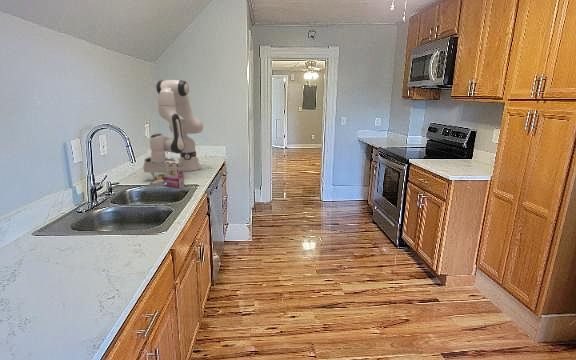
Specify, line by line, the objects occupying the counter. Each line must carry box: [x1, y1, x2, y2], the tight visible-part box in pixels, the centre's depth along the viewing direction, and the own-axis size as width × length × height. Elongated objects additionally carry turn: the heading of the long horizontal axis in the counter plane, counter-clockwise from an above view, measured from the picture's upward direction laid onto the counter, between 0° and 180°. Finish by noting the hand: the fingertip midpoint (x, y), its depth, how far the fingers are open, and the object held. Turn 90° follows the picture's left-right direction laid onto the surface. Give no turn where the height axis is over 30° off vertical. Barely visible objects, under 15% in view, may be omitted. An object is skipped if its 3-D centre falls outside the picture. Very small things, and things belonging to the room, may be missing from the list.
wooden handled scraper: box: [151, 173, 166, 184], centre depth 223 cm, size 17×6×3 cm, turn 8°
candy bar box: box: [164, 160, 186, 189], centre depth 209 cm, size 11×5×16 cm, turn 62°
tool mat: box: [147, 176, 167, 187], centre depth 222 cm, size 24×10×1 cm, turn 8°
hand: (160, 178), depth 225 cm, fingers open, 6 cm apart
